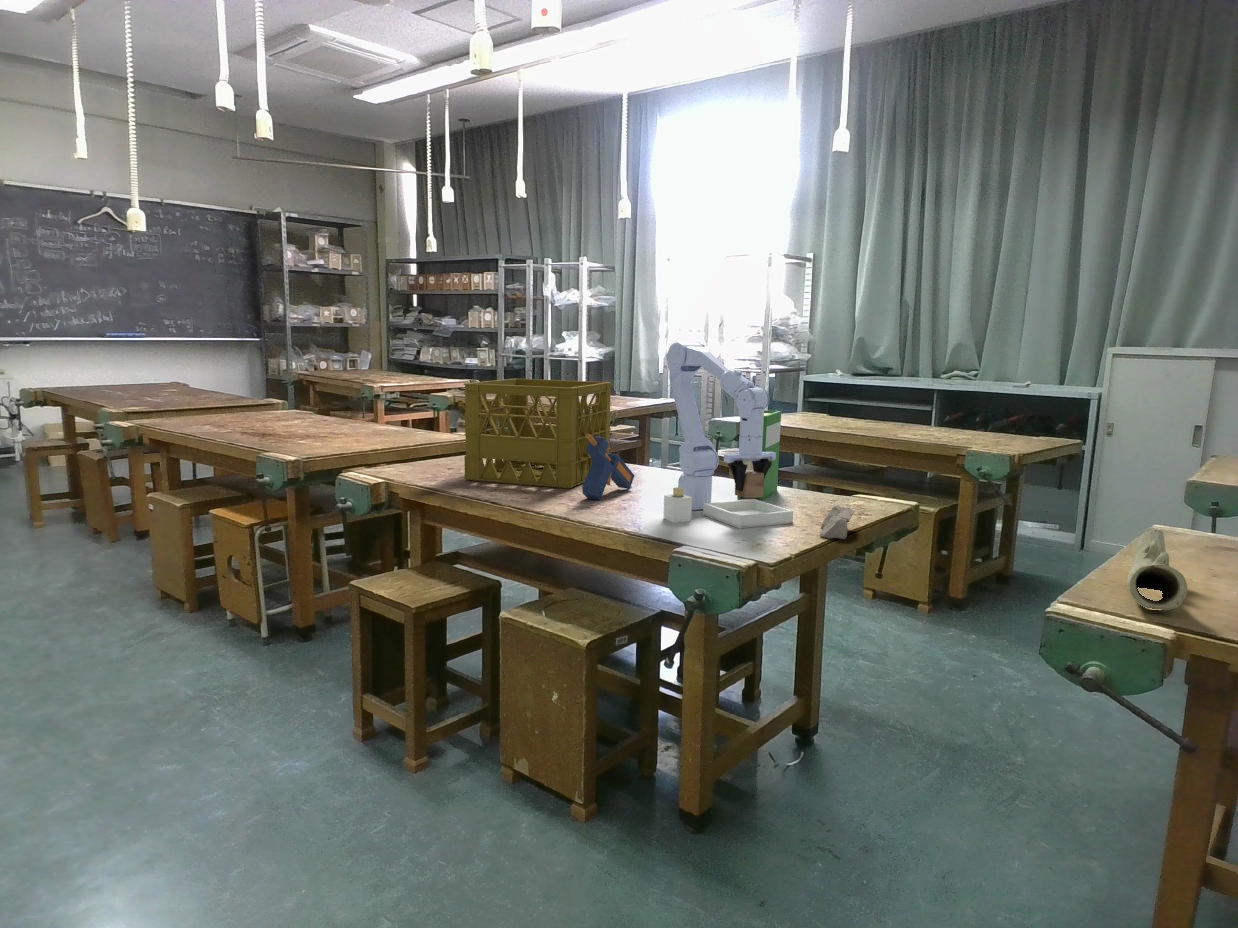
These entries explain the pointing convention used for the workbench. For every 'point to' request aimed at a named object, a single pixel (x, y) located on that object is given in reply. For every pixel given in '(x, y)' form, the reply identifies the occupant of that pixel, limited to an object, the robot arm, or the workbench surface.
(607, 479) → the glue gun
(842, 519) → the concrete fragment
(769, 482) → the hardback book
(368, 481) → the workbench surface
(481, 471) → the milk crate
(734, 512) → the tray
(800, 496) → the workbench surface
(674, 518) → the pale grey block
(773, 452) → the robot arm
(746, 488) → the walnut block
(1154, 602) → the pipe
